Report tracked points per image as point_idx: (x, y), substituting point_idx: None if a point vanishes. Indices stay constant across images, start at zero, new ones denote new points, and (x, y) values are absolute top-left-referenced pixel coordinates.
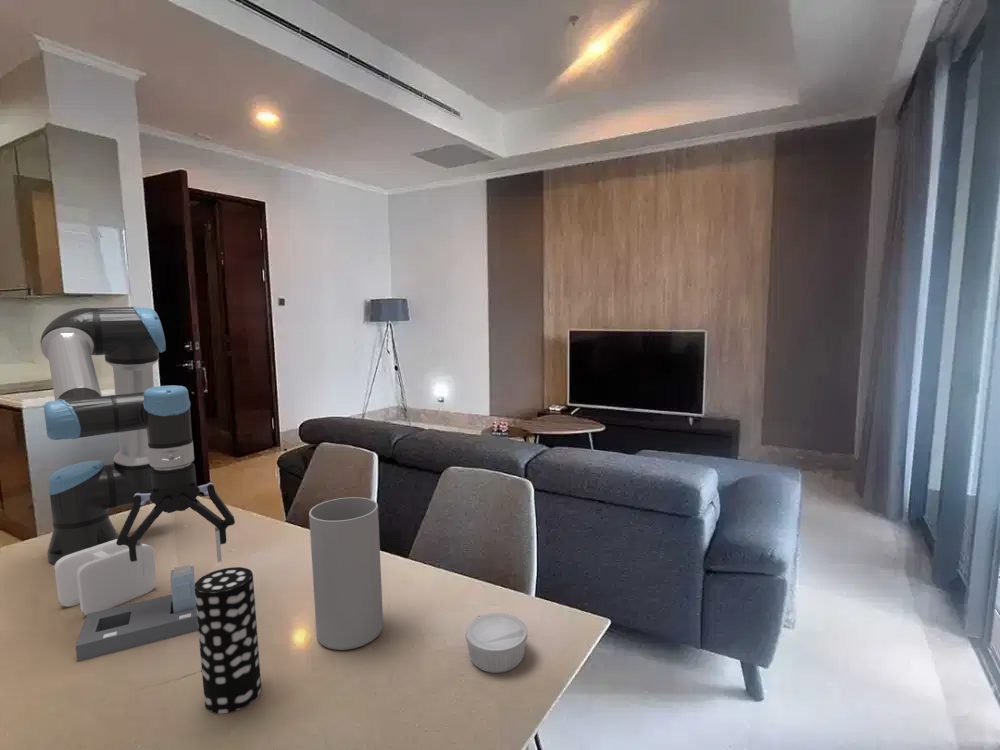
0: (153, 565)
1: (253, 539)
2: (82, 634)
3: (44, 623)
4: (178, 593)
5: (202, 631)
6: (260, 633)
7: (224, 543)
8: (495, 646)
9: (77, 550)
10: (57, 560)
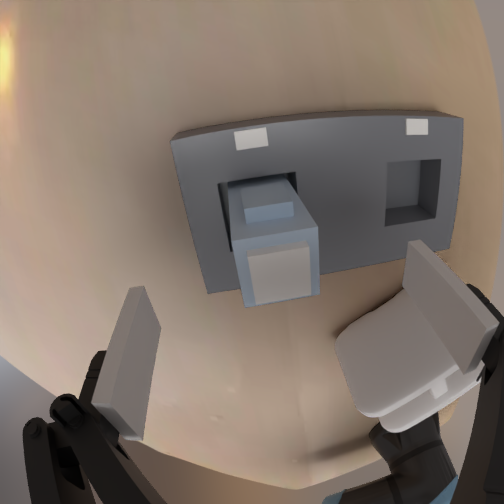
0: (348, 375)
1: (190, 432)
2: (457, 162)
3: (469, 276)
4: (280, 192)
5: None
6: (70, 82)
7: (102, 351)
8: None
9: None
10: None
